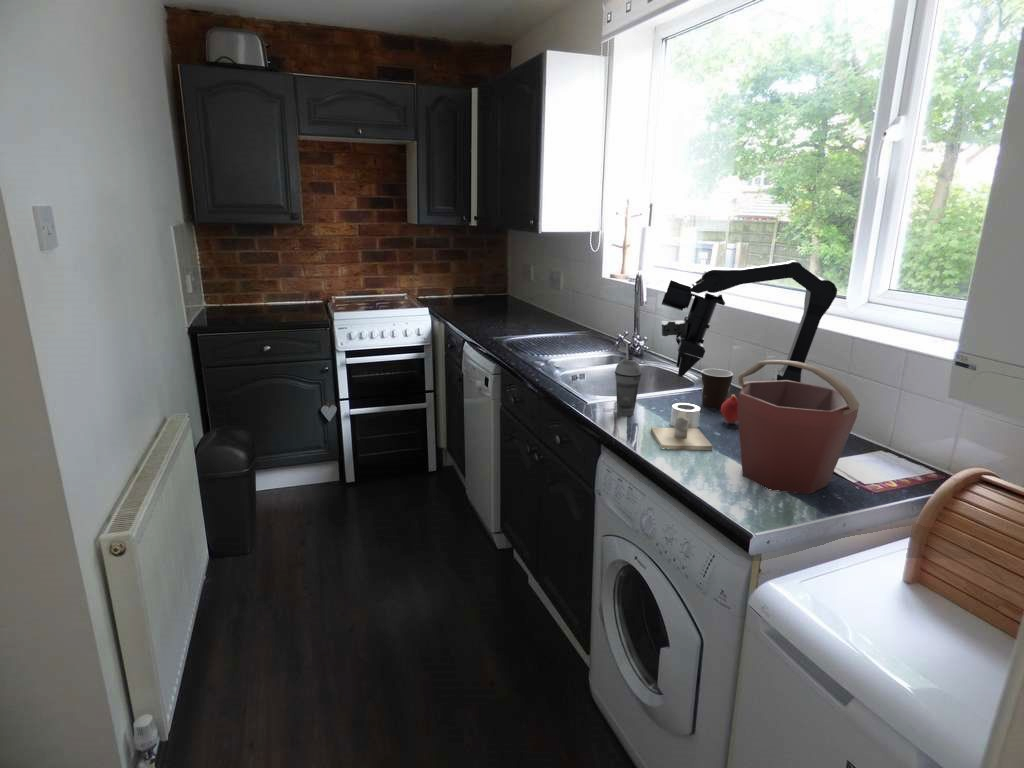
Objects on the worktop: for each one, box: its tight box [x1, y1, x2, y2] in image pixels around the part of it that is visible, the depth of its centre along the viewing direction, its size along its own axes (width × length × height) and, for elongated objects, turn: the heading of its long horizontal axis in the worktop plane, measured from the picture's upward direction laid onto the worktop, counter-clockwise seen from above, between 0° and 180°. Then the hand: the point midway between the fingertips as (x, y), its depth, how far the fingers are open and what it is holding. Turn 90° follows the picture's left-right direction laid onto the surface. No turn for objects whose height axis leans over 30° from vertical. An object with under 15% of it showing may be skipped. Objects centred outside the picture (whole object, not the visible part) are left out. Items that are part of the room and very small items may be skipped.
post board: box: [650, 417, 713, 451], centre depth 153 cm, size 12×12×6 cm
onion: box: [720, 394, 738, 425], centre depth 165 cm, size 6×6×8 cm
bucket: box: [737, 359, 860, 495], centre depth 131 cm, size 24×22×25 cm
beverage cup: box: [614, 341, 642, 417], centre depth 170 cm, size 7×7×20 cm
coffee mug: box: [701, 368, 734, 410], centre depth 180 cm, size 12×9×10 cm
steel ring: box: [669, 402, 701, 429], centre depth 163 cm, size 7×7×5 cm
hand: (678, 371), depth 165 cm, fingers open, 9 cm apart
